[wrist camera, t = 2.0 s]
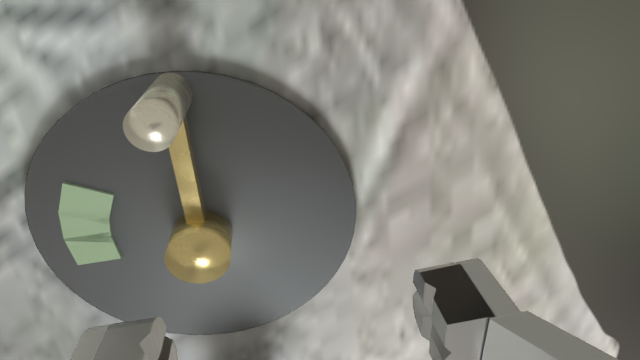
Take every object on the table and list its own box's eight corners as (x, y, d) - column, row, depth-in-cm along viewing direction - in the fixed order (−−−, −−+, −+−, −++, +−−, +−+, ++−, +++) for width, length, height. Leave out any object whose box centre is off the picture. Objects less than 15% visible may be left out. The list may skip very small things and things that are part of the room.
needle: (236, 252, 30) (231, 312, 25) (179, 258, 30) (162, 320, 25) (206, 70, 23) (192, 102, 18) (130, 74, 23) (93, 108, 18)
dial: (350, 310, 38) (352, 318, 37) (91, 343, 35) (87, 352, 34) (359, 61, 25) (362, 65, 25) (-36, 81, 23) (-47, 86, 22)
